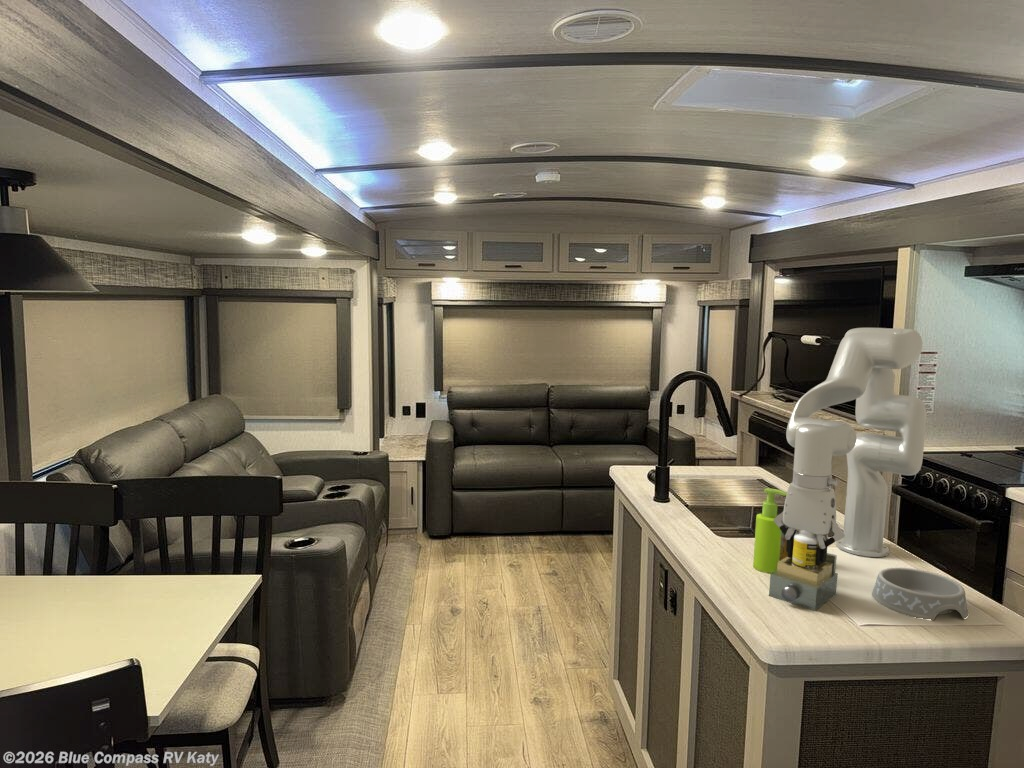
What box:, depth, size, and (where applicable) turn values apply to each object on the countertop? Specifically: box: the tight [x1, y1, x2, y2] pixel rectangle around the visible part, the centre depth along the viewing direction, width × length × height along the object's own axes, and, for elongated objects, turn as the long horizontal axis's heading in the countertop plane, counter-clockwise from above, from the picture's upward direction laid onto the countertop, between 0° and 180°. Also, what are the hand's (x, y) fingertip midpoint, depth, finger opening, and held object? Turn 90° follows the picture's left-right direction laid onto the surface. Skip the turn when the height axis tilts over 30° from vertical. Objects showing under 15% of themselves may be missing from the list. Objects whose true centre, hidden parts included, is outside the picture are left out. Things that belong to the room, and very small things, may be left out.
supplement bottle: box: [792, 530, 819, 572], centre depth 144 cm, size 5×5×10 cm
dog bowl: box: [871, 567, 970, 621], centre depth 143 cm, size 17×18×5 cm
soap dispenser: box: [752, 487, 787, 574], centre depth 159 cm, size 6×7×20 cm
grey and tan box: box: [768, 552, 838, 612], centre depth 144 cm, size 14×10×9 cm
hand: (805, 559), depth 145 cm, fingers closed on supplement bottle, 5 cm apart
